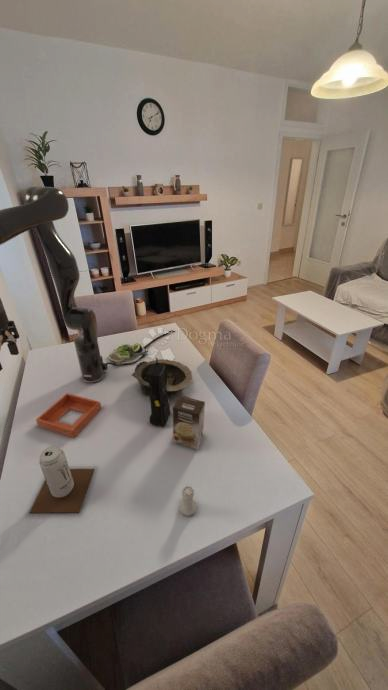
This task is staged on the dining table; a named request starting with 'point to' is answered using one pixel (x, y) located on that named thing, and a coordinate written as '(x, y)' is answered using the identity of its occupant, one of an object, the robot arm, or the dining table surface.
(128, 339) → the dining table surface
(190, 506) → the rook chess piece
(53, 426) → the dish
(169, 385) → the stone bowl
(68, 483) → the energy drink can
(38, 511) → the coaster
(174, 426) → the coffee box
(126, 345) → the salad plate
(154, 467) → the dining table surface
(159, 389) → the portable radio
